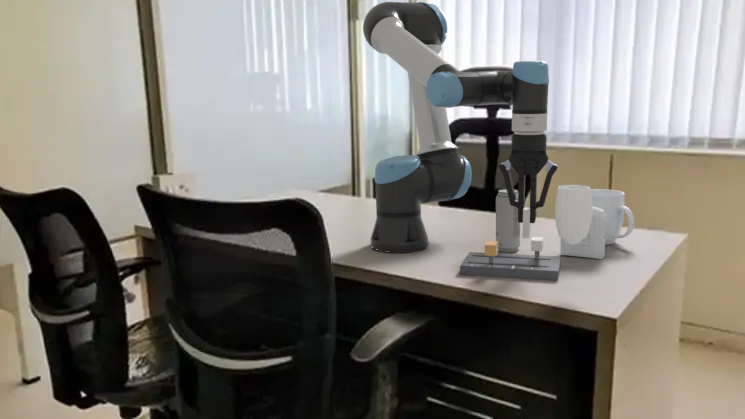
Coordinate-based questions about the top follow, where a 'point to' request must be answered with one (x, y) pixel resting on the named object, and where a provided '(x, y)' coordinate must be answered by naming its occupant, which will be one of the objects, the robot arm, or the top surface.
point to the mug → (613, 212)
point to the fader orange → (491, 250)
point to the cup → (573, 212)
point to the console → (512, 266)
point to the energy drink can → (507, 223)
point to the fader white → (537, 245)
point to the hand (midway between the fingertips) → (526, 236)
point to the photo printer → (589, 239)
